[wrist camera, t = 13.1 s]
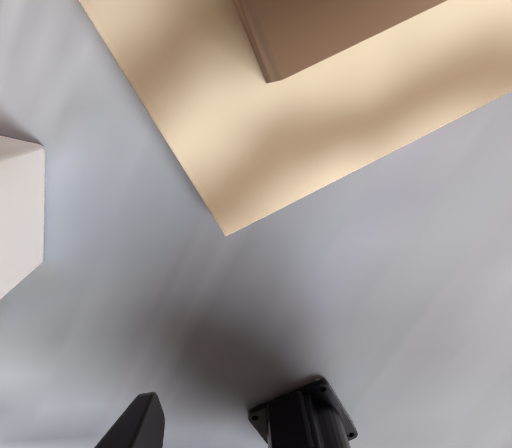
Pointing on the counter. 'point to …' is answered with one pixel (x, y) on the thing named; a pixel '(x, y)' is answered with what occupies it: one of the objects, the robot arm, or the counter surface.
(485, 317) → the counter surface
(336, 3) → the walnut block
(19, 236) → the medicine bottle
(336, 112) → the birch base
